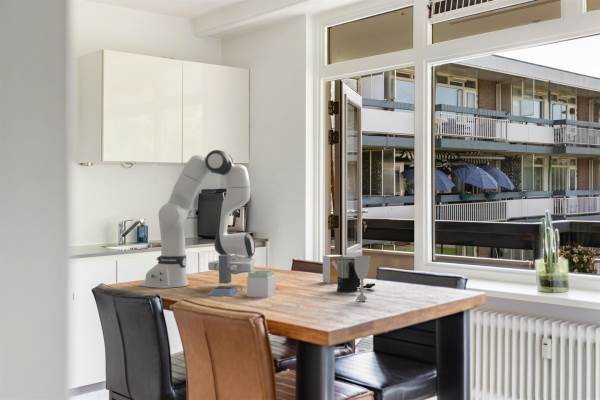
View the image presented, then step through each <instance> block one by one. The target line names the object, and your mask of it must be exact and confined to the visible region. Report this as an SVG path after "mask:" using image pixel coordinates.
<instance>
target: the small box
mask: <svg viewBox="0 0 600 400" xmlns="http://www.w3.org/2000/svg"><path fill="white" fill-rule="evenodd" d="M338 257H344V255H341V254H327V255H322V283H325V282H327V283H326V284H335V283H334V282H338V278H337V277H338V276H337V258H338Z"/></svg>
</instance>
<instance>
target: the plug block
mask: <svg viewBox="0 0 600 400" xmlns="http://www.w3.org/2000/svg"><path fill="white" fill-rule="evenodd" d="M231 256H232V254H230V255H220V254H219V255H218V261H219V270H218V284H230V283H232V273H231V270H229V268H228V267H229V266H231Z"/></svg>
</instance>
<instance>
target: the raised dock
mask: <svg viewBox="0 0 600 400" xmlns="http://www.w3.org/2000/svg"><path fill="white" fill-rule="evenodd" d="M247 273H248V276H247V277H246V297H248V298H249V297H250V298H252V297H253V298H270V297H272V296H274V295H276V275H275V271H274V270H260V269H254V271H252V272H247Z"/></svg>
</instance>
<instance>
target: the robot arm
mask: <svg viewBox="0 0 600 400" xmlns="http://www.w3.org/2000/svg"><path fill="white" fill-rule="evenodd" d="M210 173H212V174H216V175H222V176H223V177H224V179H225V184H226V185H225V186H226V193H225V196H224V198H223V200H221V201H220V205H219V209H218V215H217V217H218V218H217V227H216V228H217V229H216V235H215V238H214V239H215V240H214V250H215V251H216V252H217V254H219V255H231V266H229V267H228V268H229V270H231V275H239V274H242V273H243V274H245V273H249V272H252V271H254V270H255V264H256V256H255V252H256V242H255V240H254V237H252V235H251V234H250V233H249V232H240V233H239V232H238V233H228V229H229V228H228V227H229V226H228V225H229V219H230V215H231V214H232V213H233V212H235V211H236V210H238V209H241V208H242V207H243V206H246V204H247V203H248V202H249V200H250V199H251V181H250V177H249V175H250V174H249V172H248V169H247V167H246V166H245V165H243V164H240V163H234V161H233V158H232V156H231V155H230V154H229V153H227V152H226V151H224V150H219V149H215V150H211V151H209V152H208V153H207V155H206V156H205V157H204V156H202V155H199V154H195V155H193V156H191V157H190V158H189V160H188V161H187V163H185V165H184V167H183V168H182V170H181V172H180V174H179V177H178V178H177V180H176V182H175V183H174V186H173V189H172V191H171V194H170V196H169V199H168V201H167V203H165V204H163V205H162V206H161V207H160V208H159V210H158V214H157V215H158V224H159V231H160V232H159V233H160V239H161V240H160V245H161V247H160V249H161V251H160V252H161V254H160V255H159V256H157V257H156V261H157V263H156V264H155V265H154V266H153V267H152V268H151V269H149V270H148V271H147V272H146V274H145V277H144V278H145V281H143V282H141V283H140V284H139V285H140V286H139V287H148V288H149V287H150V288H159V289H169V288H181V287H186V286H189V285H190V283H189V281H188V280H189V279H188V276H187V275H188V273H187V255H186V237H185V228H184V222H185V221H186V220H187V217H188V215H189V213H190V211H191V209H192V206H193V204H194V201H195V198H196V197H197V195H198V193H199V191H200V189H201V186H202V185H203V184H204V181H205V180H206V178H207V176H208V175H209V174H210ZM207 268H208V270H209V271H219V260H212V261H209V262H208V265H207Z"/></svg>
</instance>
